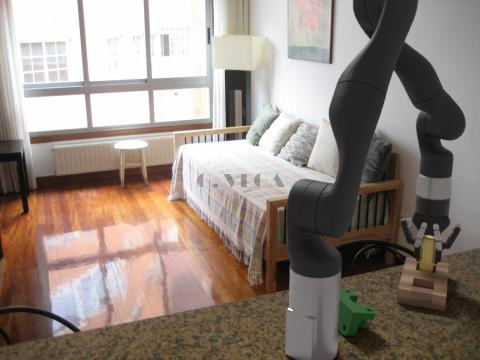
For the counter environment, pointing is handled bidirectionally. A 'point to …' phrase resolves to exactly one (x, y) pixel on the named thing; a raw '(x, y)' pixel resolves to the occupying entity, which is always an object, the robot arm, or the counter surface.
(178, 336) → the counter surface
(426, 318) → the counter surface
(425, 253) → the peg
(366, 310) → the clamp
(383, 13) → the robot arm
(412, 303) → the hole block
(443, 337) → the counter surface
